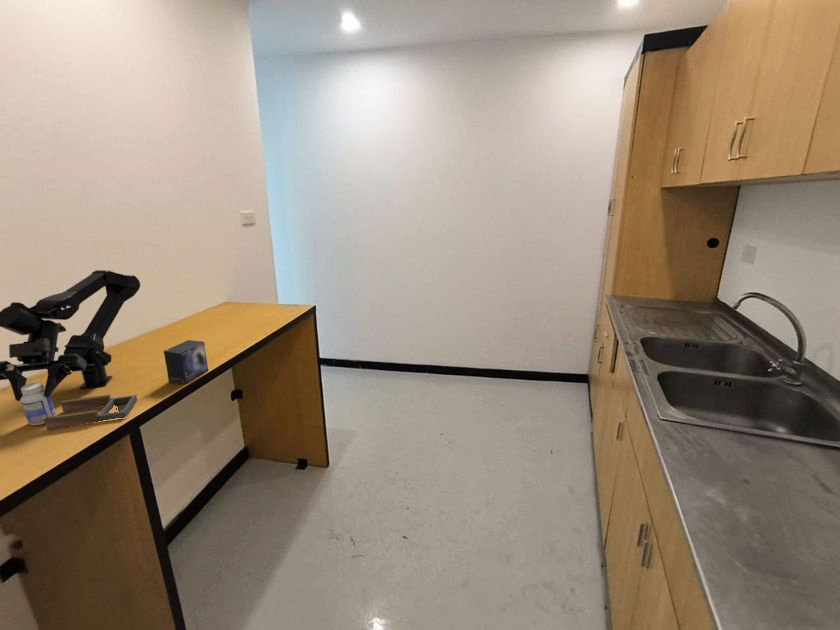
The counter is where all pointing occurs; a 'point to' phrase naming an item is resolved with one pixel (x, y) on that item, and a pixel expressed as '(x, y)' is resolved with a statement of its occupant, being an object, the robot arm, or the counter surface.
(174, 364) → the small box
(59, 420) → the walnut channel
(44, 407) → the pill bottle
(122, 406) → the dark shallow tray
